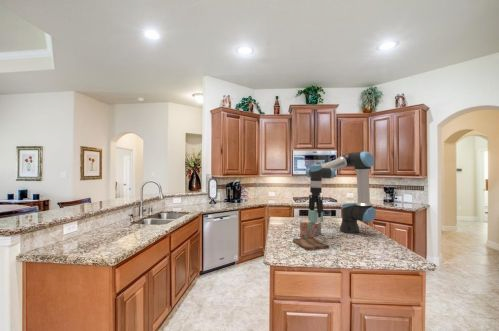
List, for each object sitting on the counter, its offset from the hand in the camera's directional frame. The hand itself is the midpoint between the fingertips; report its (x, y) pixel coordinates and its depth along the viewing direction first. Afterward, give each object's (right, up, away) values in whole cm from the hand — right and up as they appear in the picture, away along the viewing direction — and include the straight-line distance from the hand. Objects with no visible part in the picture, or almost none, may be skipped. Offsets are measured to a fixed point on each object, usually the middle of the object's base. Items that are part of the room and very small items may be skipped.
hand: (315, 220), depth 174 cm
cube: (0, 0, 0) cm, 0 cm away
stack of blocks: (+2, -17, +22) cm, 28 cm away
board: (-4, -16, -1) cm, 17 cm away
